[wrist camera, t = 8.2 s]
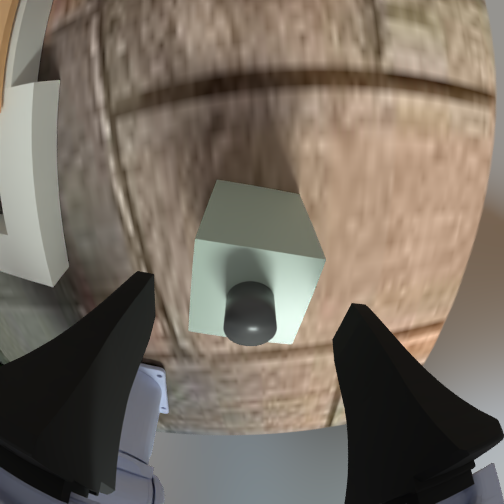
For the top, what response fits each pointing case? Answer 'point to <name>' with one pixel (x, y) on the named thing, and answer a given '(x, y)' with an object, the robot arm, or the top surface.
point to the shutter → (5, 34)
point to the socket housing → (30, 156)
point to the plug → (253, 265)
